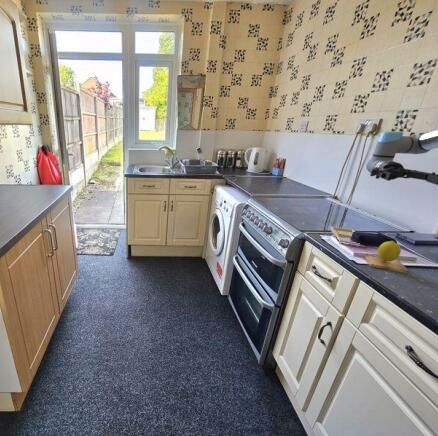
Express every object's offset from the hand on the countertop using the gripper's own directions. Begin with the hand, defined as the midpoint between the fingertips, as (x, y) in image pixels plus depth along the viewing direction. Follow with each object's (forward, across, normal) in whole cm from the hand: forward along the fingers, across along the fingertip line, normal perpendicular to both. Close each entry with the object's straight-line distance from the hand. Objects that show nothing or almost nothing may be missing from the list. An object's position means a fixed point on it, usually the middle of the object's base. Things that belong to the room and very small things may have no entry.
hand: (414, 179), depth 89 cm
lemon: (+17, +6, -27) cm, 32 cm away
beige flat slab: (-4, +12, -28) cm, 31 cm away
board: (+17, +6, -28) cm, 33 cm away
